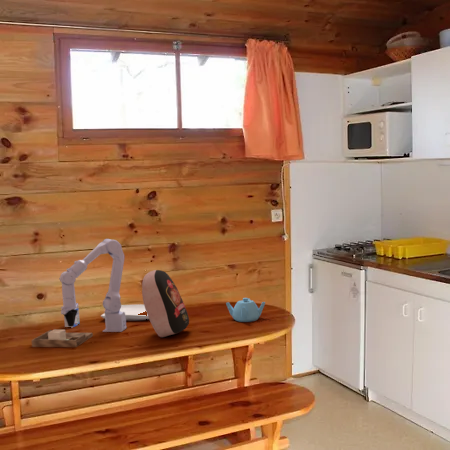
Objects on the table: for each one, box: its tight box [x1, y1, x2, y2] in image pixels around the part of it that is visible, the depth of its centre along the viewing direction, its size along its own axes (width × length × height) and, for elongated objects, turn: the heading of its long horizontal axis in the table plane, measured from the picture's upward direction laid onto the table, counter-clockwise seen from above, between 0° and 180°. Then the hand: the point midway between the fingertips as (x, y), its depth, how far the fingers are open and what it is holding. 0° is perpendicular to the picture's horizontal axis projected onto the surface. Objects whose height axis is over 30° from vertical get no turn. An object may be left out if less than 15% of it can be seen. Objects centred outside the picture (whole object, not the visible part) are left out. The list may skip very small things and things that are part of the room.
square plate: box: [100, 304, 149, 321], centre depth 311 cm, size 27×27×4 cm
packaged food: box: [141, 269, 190, 338], centre depth 268 cm, size 22×20×30 cm
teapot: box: [225, 297, 266, 323], centre depth 291 cm, size 15×15×11 cm
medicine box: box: [63, 307, 80, 329], centre depth 294 cm, size 8×4×9 cm, turn 168°
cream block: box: [47, 328, 67, 340], centre depth 260 cm, size 6×6×4 cm
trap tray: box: [31, 329, 94, 348], centre depth 265 cm, size 21×18×3 cm
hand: (71, 326), depth 271 cm, fingers closed
